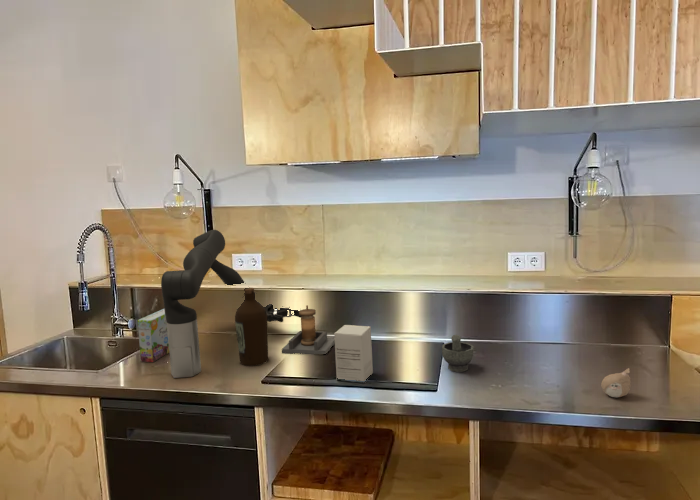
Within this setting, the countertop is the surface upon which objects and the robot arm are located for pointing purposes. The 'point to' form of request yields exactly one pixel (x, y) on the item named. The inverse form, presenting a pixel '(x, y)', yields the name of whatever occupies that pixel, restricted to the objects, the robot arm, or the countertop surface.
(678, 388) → the countertop surface
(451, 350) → the mortar and pestle
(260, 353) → the olive oil
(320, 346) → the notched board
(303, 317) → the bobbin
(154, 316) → the snack box
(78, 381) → the countertop surface
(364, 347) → the supplement box
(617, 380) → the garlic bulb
